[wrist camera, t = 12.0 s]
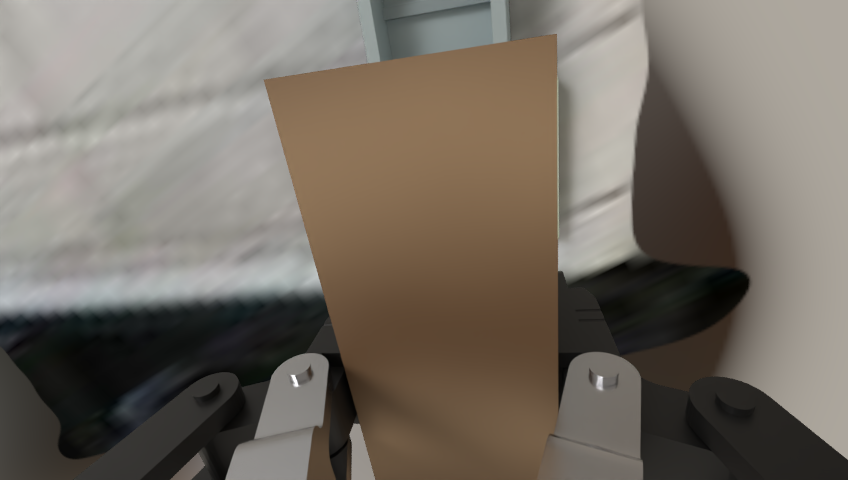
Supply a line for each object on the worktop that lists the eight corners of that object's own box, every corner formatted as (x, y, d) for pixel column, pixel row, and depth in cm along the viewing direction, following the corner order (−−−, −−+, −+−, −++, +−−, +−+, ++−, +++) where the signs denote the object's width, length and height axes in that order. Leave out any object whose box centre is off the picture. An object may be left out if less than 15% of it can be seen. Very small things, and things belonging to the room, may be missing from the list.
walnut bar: (345, 70, 10) (263, 79, 6) (531, 42, 9) (557, 33, 6) (407, 377, 14) (378, 489, 10) (540, 378, 13) (559, 501, 9)
